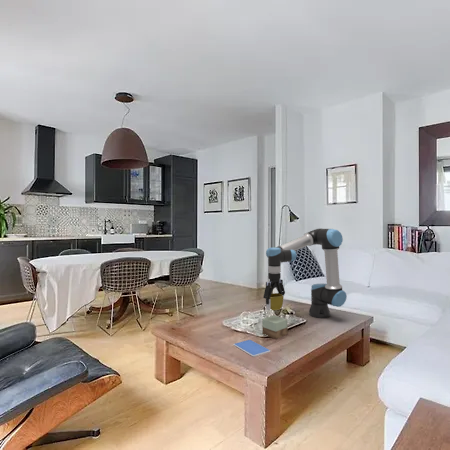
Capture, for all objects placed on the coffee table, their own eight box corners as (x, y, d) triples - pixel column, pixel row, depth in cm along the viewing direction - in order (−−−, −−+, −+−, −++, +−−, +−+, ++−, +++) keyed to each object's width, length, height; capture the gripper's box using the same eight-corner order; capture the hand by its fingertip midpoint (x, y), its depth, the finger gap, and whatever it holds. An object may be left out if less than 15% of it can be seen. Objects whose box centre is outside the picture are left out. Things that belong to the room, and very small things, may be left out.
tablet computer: (232, 345, 187) (232, 343, 187) (250, 341, 194) (250, 338, 194) (253, 358, 171) (253, 355, 171) (271, 352, 178) (271, 350, 178)
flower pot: (270, 311, 197) (270, 297, 197) (265, 307, 206) (265, 293, 205) (283, 310, 199) (283, 296, 198) (278, 306, 207) (278, 292, 207)
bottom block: (273, 330, 211) (273, 322, 210) (287, 335, 203) (287, 327, 202) (262, 334, 203) (262, 327, 203) (276, 339, 195) (276, 331, 195)
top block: (273, 322, 210) (273, 315, 210) (287, 327, 202) (287, 319, 202) (262, 326, 203) (262, 319, 203) (275, 331, 195) (275, 323, 195)
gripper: (281, 269, 212) (281, 302, 213) (257, 274, 196) (257, 310, 197) (290, 270, 206) (290, 304, 207) (266, 275, 190) (266, 312, 191)
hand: (274, 307), depth 202 cm, fingers closed on flower pot, 11 cm apart
